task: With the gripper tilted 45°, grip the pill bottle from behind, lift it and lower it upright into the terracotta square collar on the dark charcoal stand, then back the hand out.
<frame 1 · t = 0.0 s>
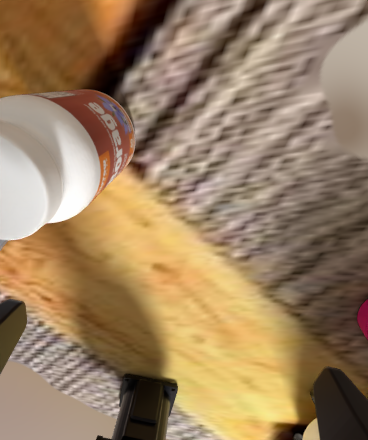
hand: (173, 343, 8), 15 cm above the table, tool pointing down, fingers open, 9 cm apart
pill bottle: (96, 134, 21), on the table
coffee press: (360, 415, 33), on the table
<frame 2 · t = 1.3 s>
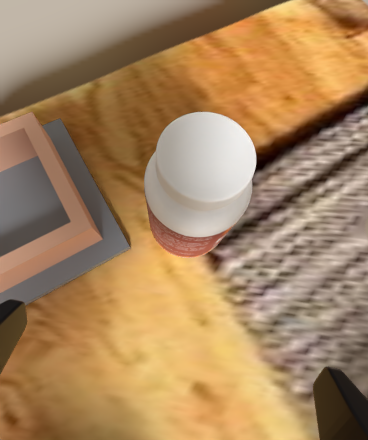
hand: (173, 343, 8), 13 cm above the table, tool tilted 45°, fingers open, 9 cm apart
bottle stand: (19, 218, 22), on the table
pill bottle: (186, 222, 23), on the table
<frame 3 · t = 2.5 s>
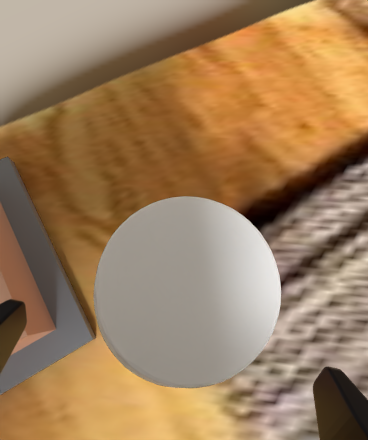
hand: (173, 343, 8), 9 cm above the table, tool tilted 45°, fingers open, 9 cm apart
pill bottle: (173, 297, 18), on the table
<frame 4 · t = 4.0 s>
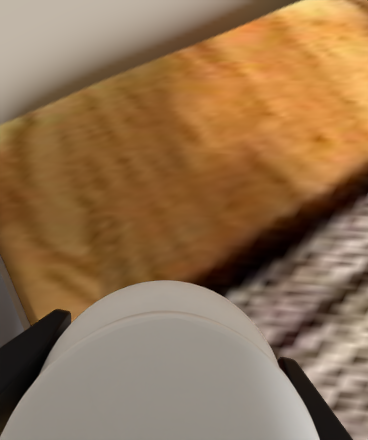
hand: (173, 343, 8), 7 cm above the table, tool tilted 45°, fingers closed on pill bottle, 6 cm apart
pill bottle: (162, 353, 14), on the table, touching gripper
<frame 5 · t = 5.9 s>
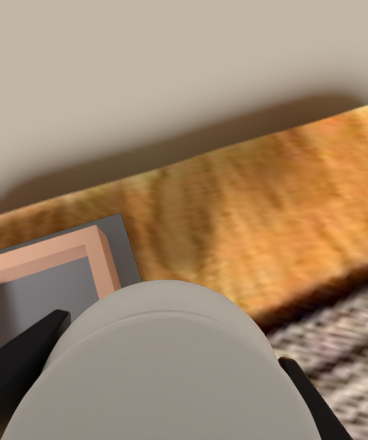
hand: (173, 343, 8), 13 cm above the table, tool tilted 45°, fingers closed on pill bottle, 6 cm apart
bottle stand: (59, 324, 20), on the table
pill bottle: (163, 353, 14), point 6 cm above the table, touching gripper
when the fingers open (9 cm above the table, at t = 8.1 s): pill bottle drops 1 cm, resting on bottle stand.
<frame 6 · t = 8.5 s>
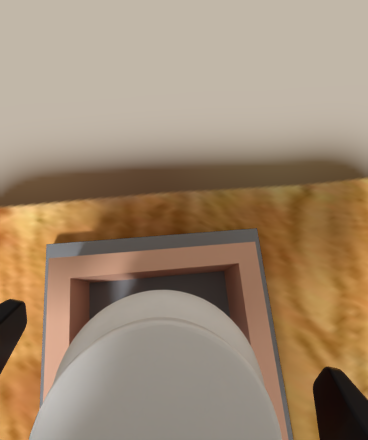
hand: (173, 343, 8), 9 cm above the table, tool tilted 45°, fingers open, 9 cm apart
bottle stand: (163, 347, 16), on the table
pill bottle: (162, 352, 16), point 1 cm above the table, touching bottle stand
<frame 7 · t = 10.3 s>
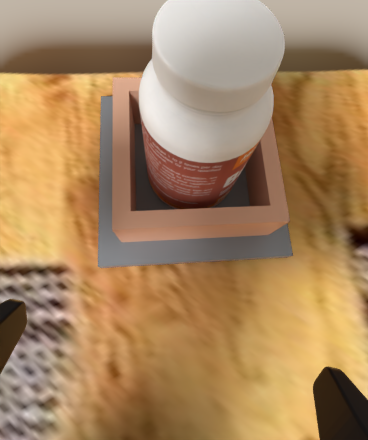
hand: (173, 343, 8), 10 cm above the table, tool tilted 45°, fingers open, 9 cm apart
bottle stand: (190, 175, 21), on the table
pill bottle: (190, 174, 20), point 1 cm above the table, touching bottle stand
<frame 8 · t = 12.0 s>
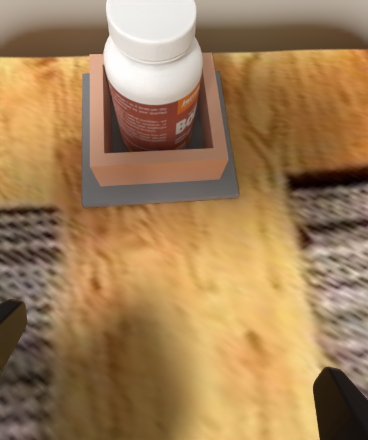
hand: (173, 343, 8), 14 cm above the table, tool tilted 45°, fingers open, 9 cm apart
bottle stand: (157, 136, 26), on the table
pill bottle: (156, 134, 25), point 1 cm above the table, touching bottle stand
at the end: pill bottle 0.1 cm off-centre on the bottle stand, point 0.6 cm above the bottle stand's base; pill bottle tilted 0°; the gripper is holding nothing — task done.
